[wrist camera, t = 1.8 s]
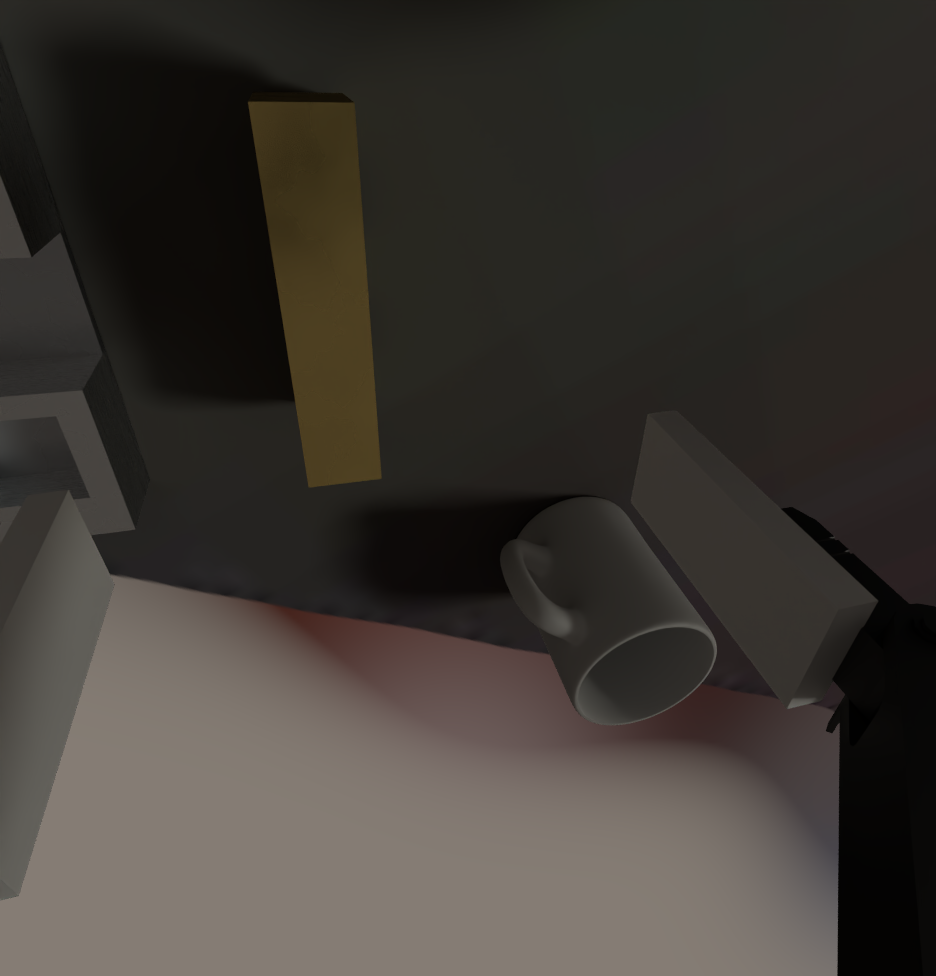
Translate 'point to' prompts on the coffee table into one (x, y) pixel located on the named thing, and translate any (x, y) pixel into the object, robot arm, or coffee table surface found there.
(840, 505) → the coffee table surface
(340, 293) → the yellow rectangular block
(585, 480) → the coffee table surface
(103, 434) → the bracket
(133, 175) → the coffee table surface
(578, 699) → the mug
